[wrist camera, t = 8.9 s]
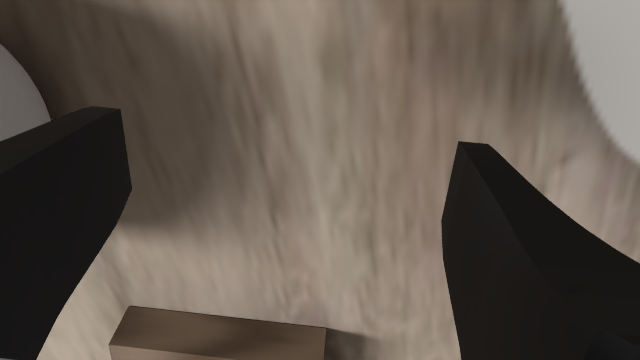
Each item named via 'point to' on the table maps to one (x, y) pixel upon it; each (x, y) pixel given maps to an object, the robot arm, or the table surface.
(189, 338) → the walnut plinth
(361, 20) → the table surface
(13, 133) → the teacup
